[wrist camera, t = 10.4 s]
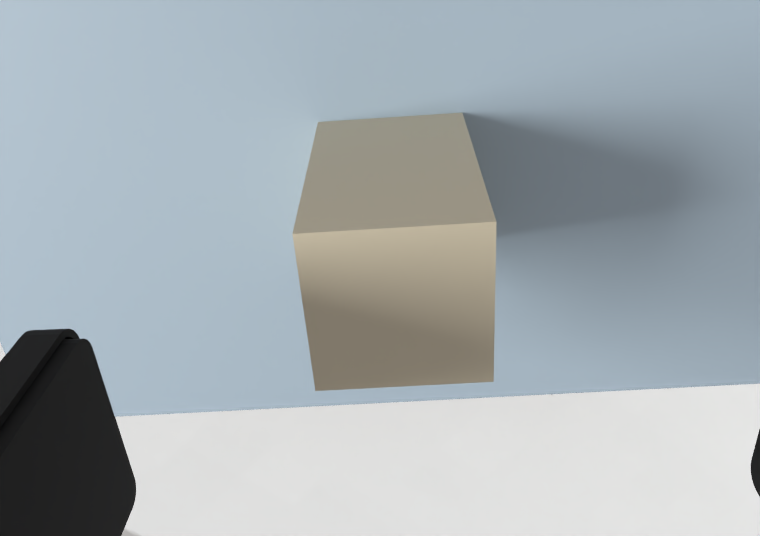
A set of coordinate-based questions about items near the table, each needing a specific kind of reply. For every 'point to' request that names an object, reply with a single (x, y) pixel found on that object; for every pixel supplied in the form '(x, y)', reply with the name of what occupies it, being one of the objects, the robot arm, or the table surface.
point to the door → (383, 196)
